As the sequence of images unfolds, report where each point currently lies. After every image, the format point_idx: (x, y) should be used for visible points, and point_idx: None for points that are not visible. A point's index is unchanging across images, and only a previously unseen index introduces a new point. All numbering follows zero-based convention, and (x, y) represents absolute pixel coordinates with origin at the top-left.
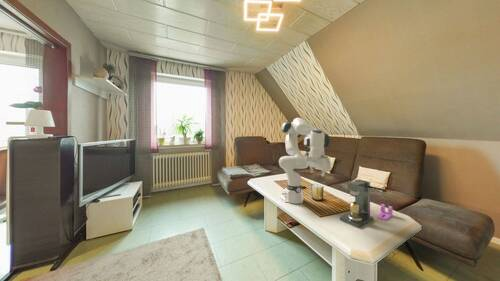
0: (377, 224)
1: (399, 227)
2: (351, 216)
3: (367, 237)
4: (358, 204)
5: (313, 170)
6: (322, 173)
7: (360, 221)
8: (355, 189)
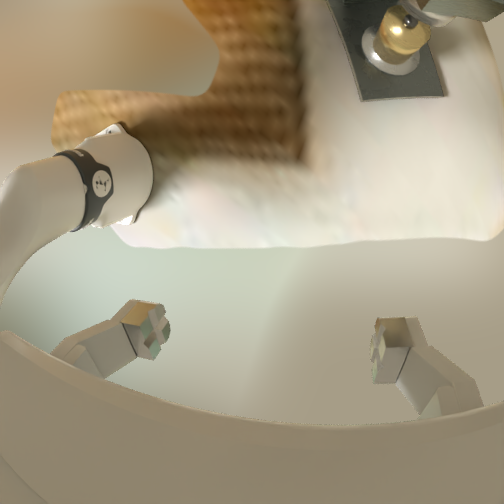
0: None
1: None
2: (393, 63)
3: (483, 134)
4: None
5: (140, 337)
6: (414, 392)
7: (423, 60)
8: (482, 15)
